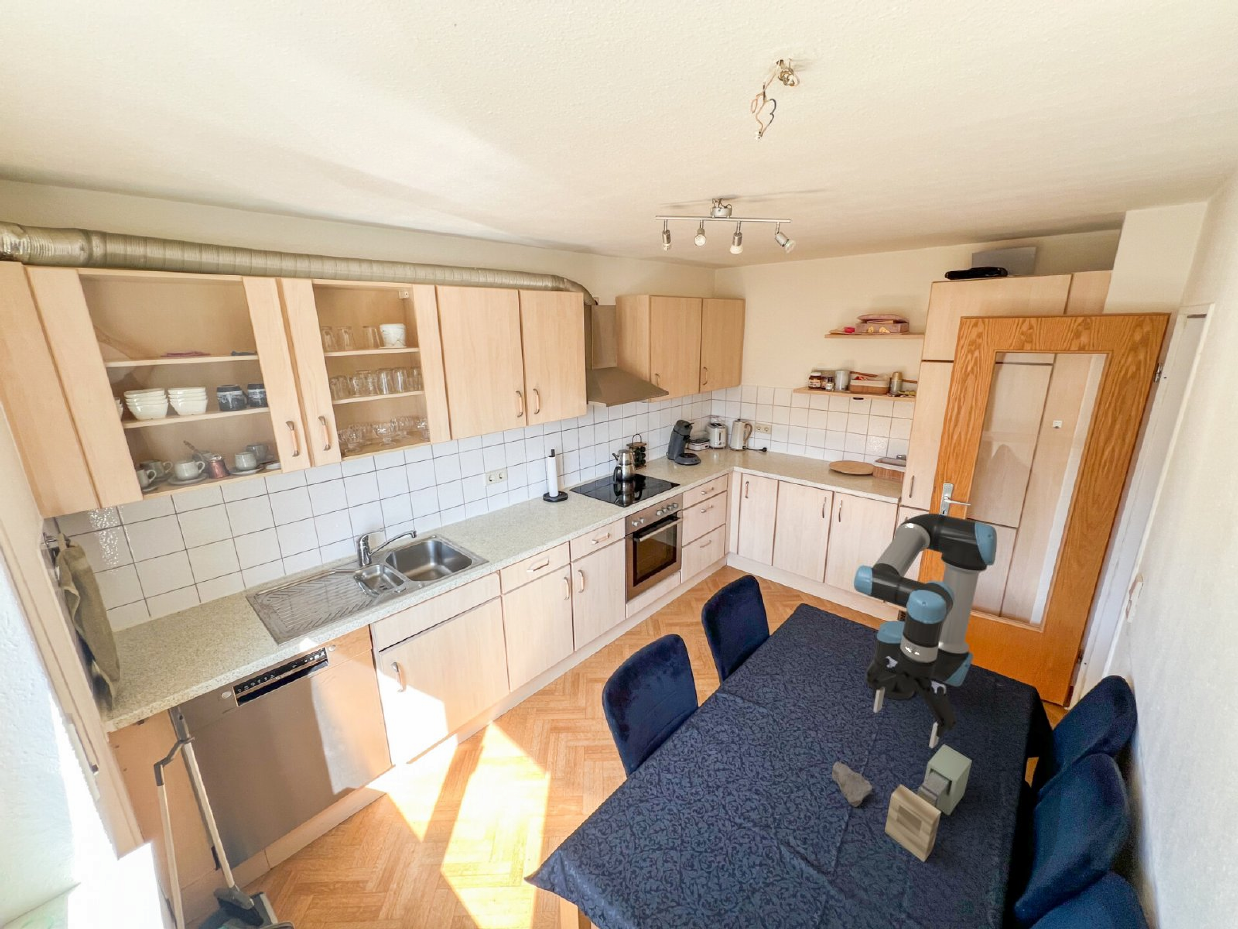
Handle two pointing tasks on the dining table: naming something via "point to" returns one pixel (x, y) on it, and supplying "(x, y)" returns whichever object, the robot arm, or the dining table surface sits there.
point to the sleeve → (950, 775)
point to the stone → (851, 784)
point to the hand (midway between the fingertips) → (904, 726)
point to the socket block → (912, 822)
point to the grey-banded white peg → (934, 788)
